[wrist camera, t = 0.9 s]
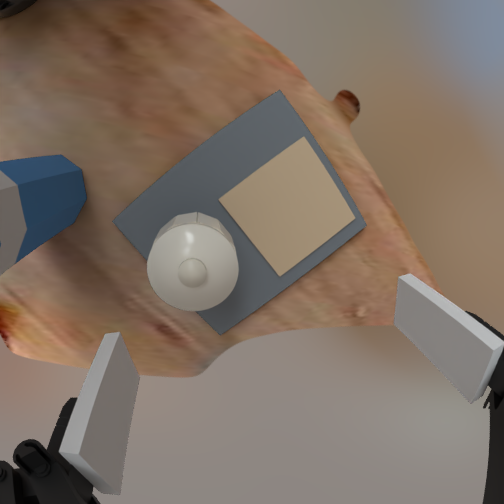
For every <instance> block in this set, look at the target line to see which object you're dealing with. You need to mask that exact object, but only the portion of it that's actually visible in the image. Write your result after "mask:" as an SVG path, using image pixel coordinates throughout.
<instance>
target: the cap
mask: <svg viewBox="0 0 504 504" xmlns="http://www.w3.org/2000/svg"><path fill="white" fill-rule="evenodd" d="M238 272H239V267H238V260H237V256H236V249H235V246H234V243H233V240H232V237H231V235H230V233H229V232H228V231H227V230H226V229H225V227H224V226H223V225H222V224H221V222H220V221H219V220H217V219H216V218H213V217H210V216H208V215H205V214H202V213H199V212H198V215H197V212H194V213H188V214H182V215H177V217H176V216H175V217H174V218H173V219H172V220H170V221H169V222H168V223H167V224H166V225H164V226H163V227H162V228H161V229H160V231H159V233H158V235H157V237H156V238H155V240H154V243H153V246H152V249H151V251H150V254H149V257H148V261H147V274H148V279H149V282H150V284H151V286H152V288H153V290H154V291H155V293H156V294H157V295H158V296H159V297H160V298H161V299H162V300H163V301H164V302H166V303H167V304H169V305H171V306H173V307H175V308H178V309H181V310H185V311H202V310H206V309H209V308H212V307H214V306H216V305H218V304H220V303H221V302H222V301H224V300H225V299H226V298H227V297H228V296H229V295H230V293H231V292H232V290H233V289H234V287H235V285H236V282H237V278H238Z"/></svg>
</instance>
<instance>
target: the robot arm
mask: <svg viewBox="0 0 504 504" xmlns="http://www.w3.org/2000/svg"><path fill="white" fill-rule="evenodd" d="M35 1H37V0H0V17H8V16H11V15H14V14H16V13H18V12H20V11H22V10H24V9H25V8H27V7H28V6H30V5H31V4H33V3H34V2H35ZM394 325H395V326H396V327H397V328H399V330H400V331H401V332H402V333H403V334H404V335H405V336H406V337H408V339H409V340H410V341H411V342H412V343H413V344H414V345H415V346H416V347H417V348H418V349H419V350H420V351H421V352H422V353H423V354H424V355H425V356H426V357H427V358H428V359H429V360H430V361H431V362H432V363H433V364H434V365H435V366H436V367H437V368H438V369H439V371H441V372H442V374H443V375H444V376H445V377H446V378H447V379H448V380H449V381H450V382H451V383H452V384H453V385H454V386H455V387H456V388H457V390H458V391H459V392H460V393H461V394H462V395H463V396H464V397H465V398H466V399H467V400H468V402H469V403H470V404H471V403H473V402H474V401H476V400H477V399H479V398H480V397H482V396H483V394H484V392H485V390H486V388H487V386H489V387H490V388H491V391H490V394H489V396H488V398H487V399H486V401H485V403H484V406H483V408H486V406H487V404H488V402H490V406H489V409H490V441H489V458H488V469H487V479H486V486H485V493H484V499H483V504H504V336H503V335H502V334H501V333H500V332H498V331H497V330H496V329H494V328H493V327H492V326H490V325H489V324H488V323H487V322H484V321H483V320H482V319H481V318H480V317H478V316H477V315H475V314H473V313H470V312H467V311H463V310H462V309H460V308H459V307H457V306H456V305H455V304H453V303H452V302H451V301H449V300H448V299H446V298H445V297H444V296H442V295H441V294H439V293H438V292H436V291H435V290H434V289H432V288H431V287H429V286H428V285H426V284H425V283H423V282H422V281H421V280H419V279H418V278H416V277H415V276H413V275H412V274H407V275H403V276H399V277H398V286H397V298H396V308H395V317H394ZM139 380H140V377H139V375H138V372H137V370H136V368H135V366H134V364H133V361H132V359H131V357H130V355H129V352H128V350H127V348H126V345H125V343H124V340H123V338H122V335H121V333H120V332H116V333H107V334H105V335H104V338H103V340H102V342H101V344H100V346H99V349H98V351H97V353H96V355H95V358H94V360H93V362H92V365H91V367H90V369H89V372H88V374H87V376H86V379H85V381H84V384H83V386H82V389H81V391H80V394H79V397H78V398H70V399H69V400H68V401H67V403H66V404H65V405H64V406H63V408H62V411H61V413H60V415H59V417H60V418H59V419H58V421H57V423H56V426H55V429H54V431H53V434H52V436H51V439H50V442H49V445H48V448H47V450H46V449H45V448H44V447H43V445H41V443H40V442H38V441H36V440H34V439H28V440H25V441H23V442H21V443H20V444H19V445H18V446H17V448H16V449H15V451H14V454H13V461H14V463H16V464H17V466H18V467H19V469H14V468H13V467H12V466H11V465H10V464H9V463H7V462H5V461H0V504H100V502H99V501H98V500H97V498H96V497H95V496H94V495H93V494H92V492H93V486H94V487H95V488H96V489H97V490H98V491H100V492H101V493H104V494H114V495H120V493H121V484H122V477H123V469H124V462H125V456H126V449H127V443H128V437H129V431H130V425H131V420H132V414H133V409H134V404H135V398H136V394H137V389H138V384H139Z"/></svg>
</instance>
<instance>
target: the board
mask: <svg viewBox="0 0 504 504" xmlns="http://www.w3.org/2000/svg"><path fill="white" fill-rule="evenodd" d="M194 212H197V215H198V212H199V213H202V214H205V215H208V216H210V217H213V218H216V219H217V220H219V221H220V222H221V224H222V225H223V226H224V227H225V229H226V230H227V231H228V232H229V233H230V235H231V237H232V240H233V243H234V246H235V249H236V256H237V260H238V267H239V272H238V278H237V282H236V285H235V287H234V289H233V290H232V292H231V293H230V295H229V296H228V297H227V298H226V299H225V300H224V301H222V302H221V303H220V304H218V305H216V306H214V307H212V308H209V309H206V310H202V311H196V312H197V313H198V314H199V315H200V316H201V317H202V318H203V319H204V320H205V321H206V322H207V323H208V324H209V325H210V326H211V327H212V328H213V329H214V330H215V331H216V332H217V333H218V334H219V335H221V334H223V333H224V332H226V331H227V330H229V329H230V328H231V327H233V326H234V325H236V324H237V323H239V322H240V321H241V320H243V319H244V318H246V317H247V316H248V315H250V314H251V313H253V312H254V311H255V310H257V309H258V308H260V307H261V306H262V305H264V304H265V303H266V302H268V301H269V300H271V299H272V298H273V297H275V296H276V295H277V294H279V293H280V292H281V291H283V290H284V289H285V288H287V287H288V286H290V285H291V284H292V283H294V282H295V281H296V280H298V279H299V278H300V277H301V276H303V275H304V274H305V273H307V272H308V271H309V270H311V269H312V268H313V267H315V266H316V265H317V264H319V263H320V262H321V261H322V260H324V259H325V258H326V257H328V256H329V255H330V254H331V253H333V252H334V251H335V250H337V249H338V248H339V247H340V246H342V245H343V244H344V243H345V242H347V241H348V240H349V239H350V238H352V237H353V236H354V235H355V234H357V233H358V232H359V231H360V230H362V229H363V228H364V227H365V226H367V224H366V223H365V221H364V219H363V217H362V215H361V214H360V212H359V210H358V208H357V206H356V205H355V203H354V201H353V199H352V198H351V196H350V194H349V193H348V191H347V189H346V188H345V186H344V184H343V182H342V181H341V179H340V178H339V176H338V174H337V173H336V171H335V169H334V168H333V166H332V165H331V163H330V161H329V160H328V158H327V157H326V155H325V154H324V152H323V151H322V149H321V148H320V146H319V144H318V143H317V141H316V140H315V138H314V137H313V135H312V134H311V133H310V131H309V130H308V128H307V127H306V125H305V124H304V122H303V121H302V120H301V118H300V117H299V115H298V114H297V112H296V111H295V110H294V108H293V107H292V106H291V104H290V103H289V101H288V100H287V99H286V97H285V96H284V95H283V93H282V92H281V91H280V90H278V91H277V92H275V93H274V94H272V95H271V96H269V97H267V98H266V99H264V100H263V101H261V102H260V103H258V104H257V105H255V106H254V107H252V108H251V109H249V110H248V111H247V112H245V113H244V114H242V115H241V116H239V117H238V118H237V119H235V120H234V121H232V122H231V123H229V124H228V125H227V126H225V127H224V128H223V129H221V130H220V131H219V132H217V133H216V134H214V135H213V136H212V137H210V138H209V139H208V140H206V141H205V142H204V143H203V144H201V145H200V146H199V147H197V148H196V149H195V150H194V151H192V152H191V153H190V154H188V155H187V156H186V157H185V158H183V159H182V160H181V161H180V162H179V163H177V164H176V165H175V166H174V167H172V168H171V169H170V170H169V171H168V172H166V173H165V174H164V175H163V176H162V177H160V178H159V179H158V180H157V181H156V182H155V183H154V184H152V185H151V186H150V187H149V188H148V189H147V190H146V191H144V192H143V193H142V194H141V195H140V196H139V197H138V198H137V199H135V200H134V201H133V202H132V203H131V204H130V205H129V206H128V207H127V208H126V209H125V210H124V211H122V212H121V213H120V214H119V215H118V216H117V217H116V218H115V219H114V220H113V221H112V222H113V223H114V224H115V225H116V226H117V227H118V229H119V230H120V231H121V232H122V233H123V234H124V235H125V237H126V238H127V239H128V240H129V241H130V242H131V243H132V245H133V246H134V247H135V248H136V249H137V250H138V251H139V252H140V254H141V255H142V256H143V257H144V258H145V259H146V260H147V261H148V257H149V254H150V251H151V249H152V246H153V243H154V240H155V238H156V237H157V235H158V233H159V231H160V229H161V228H162V227H163V226H164V225H166V224H167V223H168V222H169V221H170V220H172V219H173V218H174V217H175V216H176V217H177V215H182V214H188V213H194Z"/></svg>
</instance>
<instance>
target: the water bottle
mask: <svg viewBox="0 0 504 504" xmlns="http://www.w3.org/2000/svg"><path fill="white" fill-rule="evenodd" d="M86 199H87V197H86V191H85V186H84V181H83V175H82V170H81V169H80V168H79V167H77V166H76V165H75V164H73V163H72V162H71V161H69V160H68V159H66V158H65V157H64V156H62V155H52V156H42V157H33V158H25V159H17V160H10V161H3V162H0V275H1V274H3V273H4V272H5V271H6V270H8V269H9V268H10V267H12V266H13V265H14V264H16V263H17V262H18V261H20V260H21V259H22V258H24V257H25V256H26V255H28V254H29V253H30V252H32V251H33V250H35V249H36V248H37V247H39V246H40V245H42V244H43V243H44V242H46V241H47V240H49V239H50V238H52V237H53V236H55V235H56V234H58V233H59V232H61V231H62V230H64V229H65V228H67V227H68V226H70V225H71V224H73V223H74V222H75V220H76V218H77V216H78V214H79V212H80V210H81V208H82V207H83V205H84V203H85V201H86Z"/></svg>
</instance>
